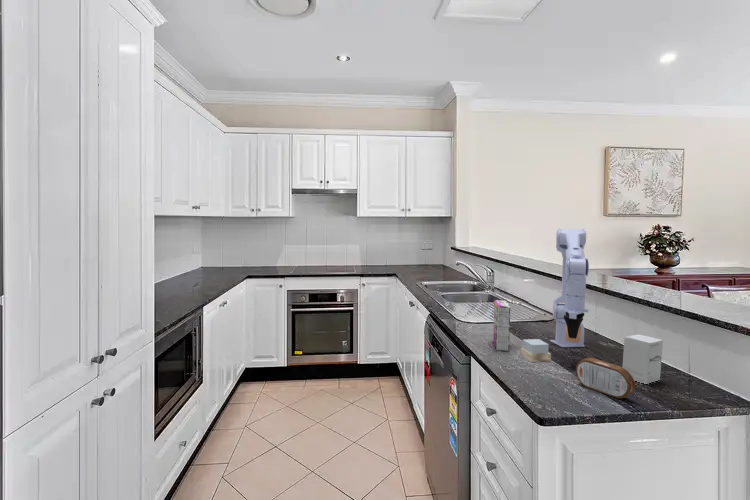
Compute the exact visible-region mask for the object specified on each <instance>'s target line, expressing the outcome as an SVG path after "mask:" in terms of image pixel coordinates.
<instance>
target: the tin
mask: <svg viewBox="0 0 750 500" xmlns="http://www.w3.org/2000/svg"><path fill="white" fill-rule="evenodd" d="M575 375H576V378H577V380H578V381H579V382H580V384H582V385H583V386H584V387H585V388H588V389H590V390H593V391H596V392H598V393H601V394H603V393H604V395H607V396H609V397H611V396H612V398H614V397H615V399H624V398H626V397H629V396H631V395H632V394H633V393H634V391H635V388H636V384H635V383H636V382H635V381H634V379H633V377H632V375H631V374H630V373H629V372H628V371H627V370H626V369H624V368H622V366H619V365H616V364H615V363H614V364H613V363H610V362H607V361H604V360H602V359H601V360H600V359H597V358H595V357H585V358H583V359H582V360H579V361H578V362H577V363H576V365H575Z"/></svg>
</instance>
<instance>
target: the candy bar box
mask: <svg viewBox="0 0 750 500" xmlns="http://www.w3.org/2000/svg"><path fill="white" fill-rule="evenodd" d="M510 327H511V306H510V304H509V302H508V301H507V300H502V299H501V300H500V299H495V300H493V333H492V334H493V335H492V336H493V337H492V338H493V339H492V342H493V345H494V349H495V351H498V352H500V351H501V352H509V351H510V334H511V333H510V332H511V328H510Z"/></svg>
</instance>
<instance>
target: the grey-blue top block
mask: <svg viewBox="0 0 750 500" xmlns="http://www.w3.org/2000/svg"><path fill="white" fill-rule="evenodd" d="M549 347H550V345H549V343H547V342H545V341H544V340H541V339H540V338H534V339H533V338H531V339H528V338H527V339H522V348H523V349H525V350H526V351H528V352H530V353H531V354H539V353H548V352H549Z"/></svg>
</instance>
